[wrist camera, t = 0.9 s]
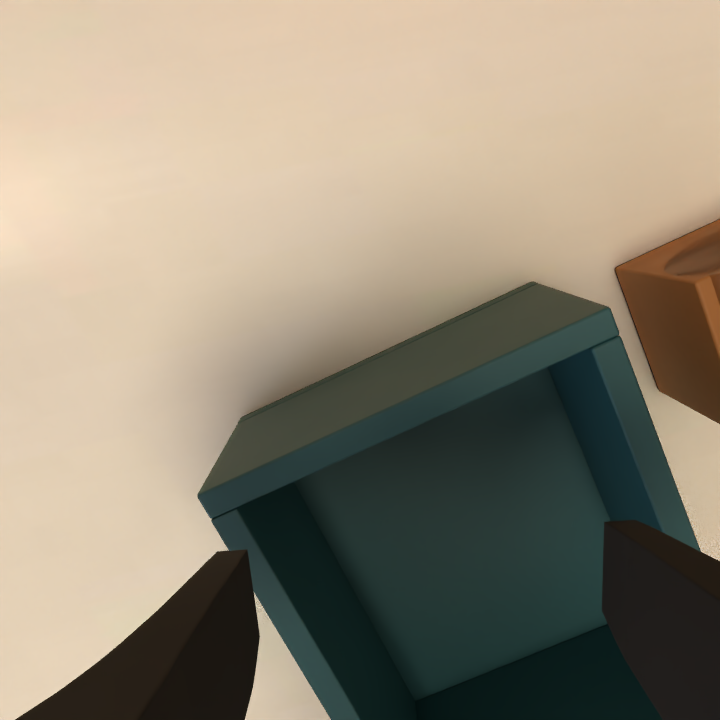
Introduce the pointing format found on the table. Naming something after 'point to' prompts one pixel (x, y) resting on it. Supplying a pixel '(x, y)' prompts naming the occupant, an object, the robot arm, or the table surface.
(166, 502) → the table surface
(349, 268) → the table surface
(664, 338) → the square bread
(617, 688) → the dark green open box
